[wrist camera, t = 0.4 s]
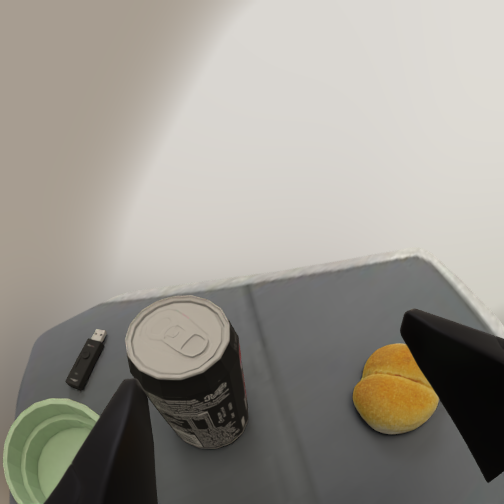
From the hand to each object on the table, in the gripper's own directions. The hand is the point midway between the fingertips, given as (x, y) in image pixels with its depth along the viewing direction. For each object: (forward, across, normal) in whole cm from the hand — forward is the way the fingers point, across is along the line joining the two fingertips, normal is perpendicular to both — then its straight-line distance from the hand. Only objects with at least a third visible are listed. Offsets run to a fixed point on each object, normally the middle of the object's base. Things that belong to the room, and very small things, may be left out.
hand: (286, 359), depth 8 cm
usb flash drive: (+17, +16, +14) cm, 27 cm away
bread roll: (+5, -12, +16) cm, 21 cm away
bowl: (+3, +17, +16) cm, 23 cm away
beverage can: (+9, +4, +15) cm, 18 cm away
